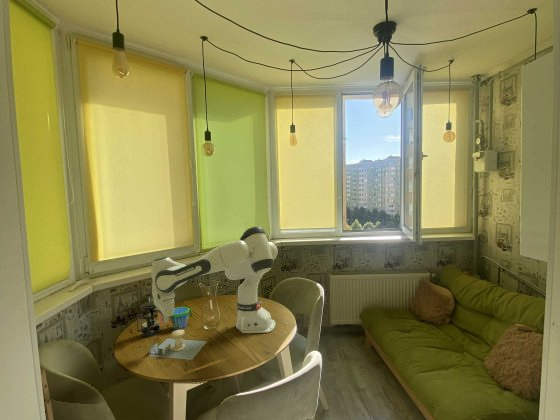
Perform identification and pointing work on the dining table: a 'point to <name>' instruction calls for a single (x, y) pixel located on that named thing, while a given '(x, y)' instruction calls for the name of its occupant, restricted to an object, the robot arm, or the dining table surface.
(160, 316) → the tab block
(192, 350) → the bobbin board
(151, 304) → the french press
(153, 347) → the notch block
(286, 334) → the dining table surface
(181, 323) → the snack cup
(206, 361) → the dining table surface
